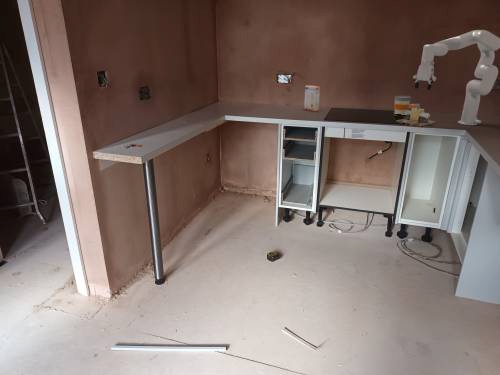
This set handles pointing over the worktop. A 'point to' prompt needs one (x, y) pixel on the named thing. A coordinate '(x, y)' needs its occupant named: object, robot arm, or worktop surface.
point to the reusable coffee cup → (401, 104)
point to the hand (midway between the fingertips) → (422, 89)
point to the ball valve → (417, 114)
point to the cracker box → (312, 98)
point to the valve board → (422, 123)
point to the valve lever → (414, 106)
